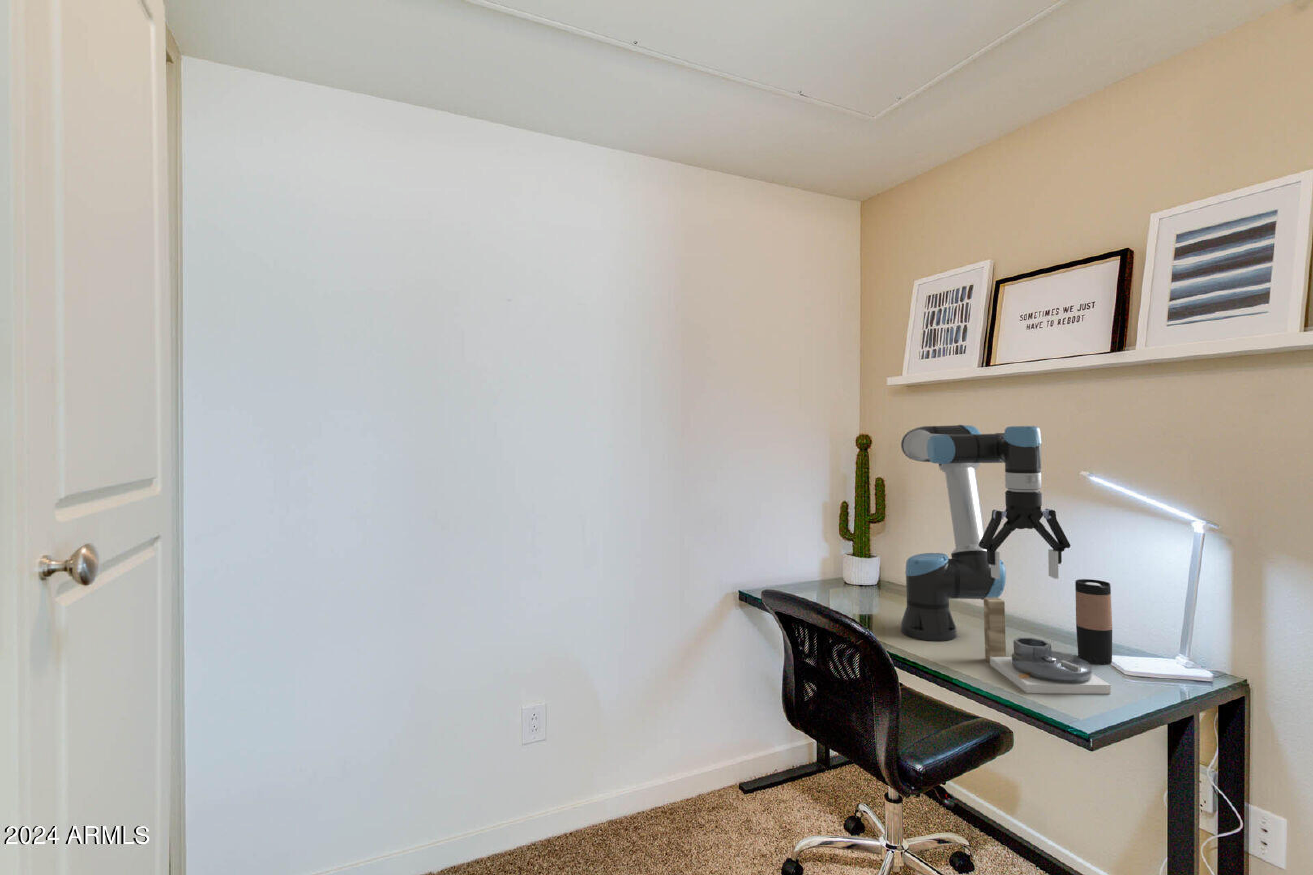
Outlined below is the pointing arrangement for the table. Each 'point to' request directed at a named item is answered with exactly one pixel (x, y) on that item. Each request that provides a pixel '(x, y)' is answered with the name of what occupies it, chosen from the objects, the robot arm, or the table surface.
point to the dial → (1048, 662)
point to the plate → (1048, 681)
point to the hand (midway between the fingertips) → (1024, 577)
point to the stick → (994, 628)
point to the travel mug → (1094, 621)
